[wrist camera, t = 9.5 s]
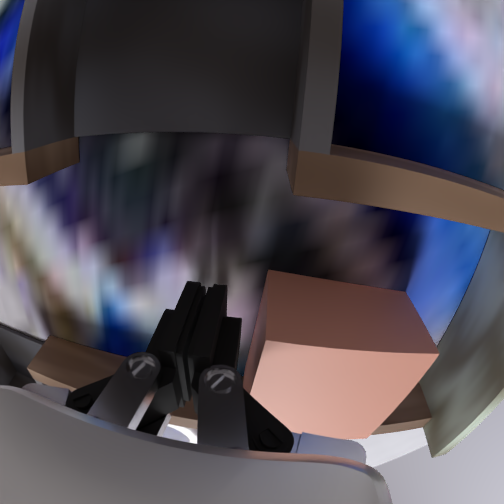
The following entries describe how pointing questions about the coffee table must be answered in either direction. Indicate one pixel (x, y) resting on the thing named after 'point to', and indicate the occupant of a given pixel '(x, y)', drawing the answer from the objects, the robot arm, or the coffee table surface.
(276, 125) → the channel
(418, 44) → the coffee table surface
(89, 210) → the coffee table surface
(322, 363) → the salmon pink square block
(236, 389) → the robot arm
